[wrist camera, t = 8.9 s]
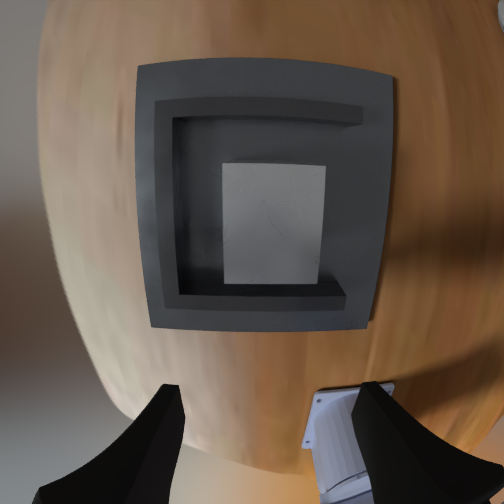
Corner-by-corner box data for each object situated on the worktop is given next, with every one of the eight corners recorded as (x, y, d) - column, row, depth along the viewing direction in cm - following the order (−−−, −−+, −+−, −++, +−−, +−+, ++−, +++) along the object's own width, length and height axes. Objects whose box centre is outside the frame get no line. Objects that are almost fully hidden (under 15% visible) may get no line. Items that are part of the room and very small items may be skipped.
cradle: (363, 323, 21) (376, 345, 18) (154, 321, 21) (142, 344, 18) (387, 78, 15) (408, 68, 13) (142, 68, 15) (124, 56, 12)
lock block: (296, 242, 18) (317, 283, 13) (231, 241, 18) (224, 283, 13) (300, 161, 17) (325, 166, 11) (231, 159, 17) (222, 163, 11)
